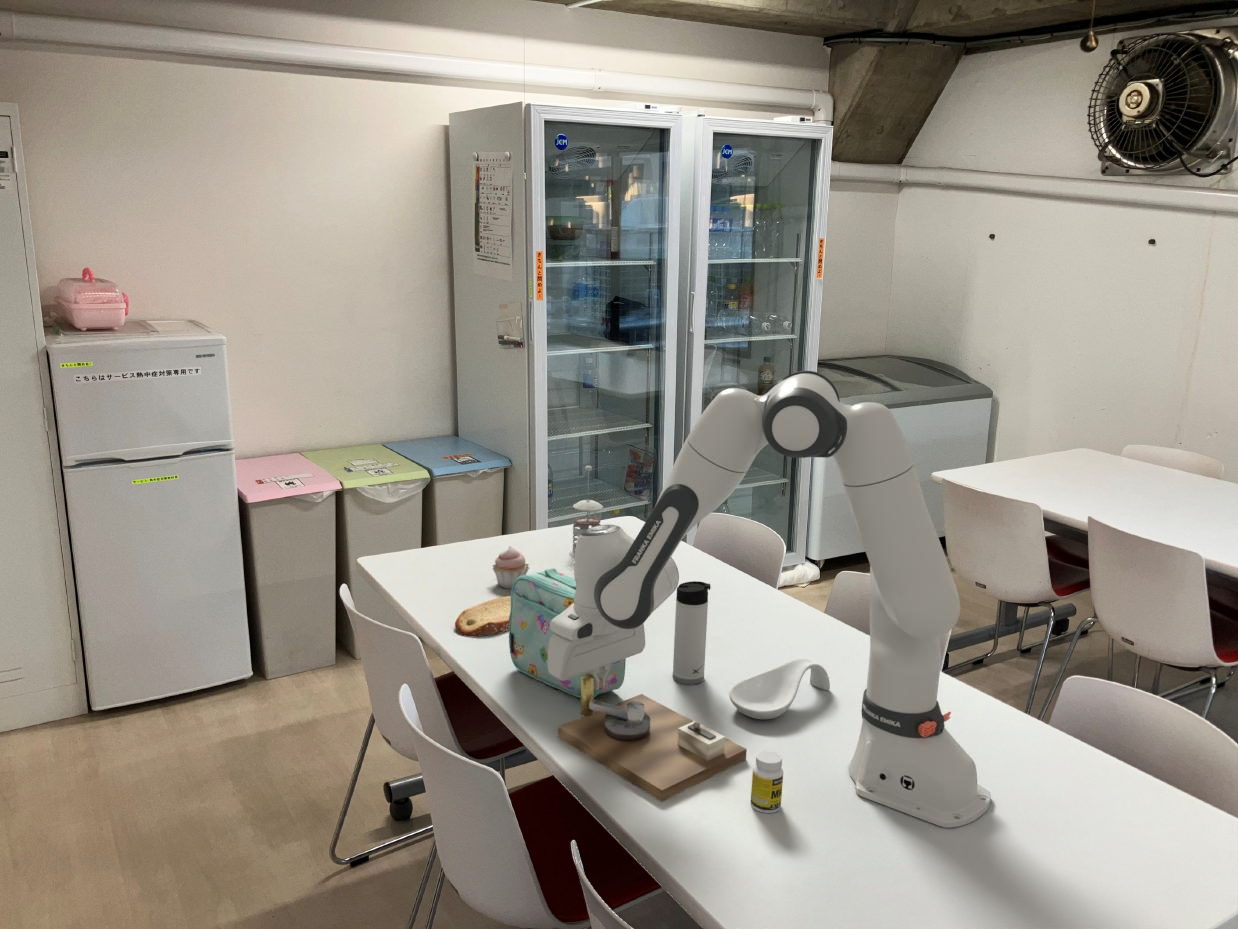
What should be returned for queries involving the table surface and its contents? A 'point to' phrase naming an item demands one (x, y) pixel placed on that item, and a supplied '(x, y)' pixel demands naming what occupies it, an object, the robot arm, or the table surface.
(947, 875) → the table surface
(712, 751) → the stand
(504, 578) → the cupcake
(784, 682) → the spoon rest
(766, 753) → the supplement bottle
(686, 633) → the travel mug
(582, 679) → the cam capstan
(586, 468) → the french press
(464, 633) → the slice of bread
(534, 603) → the lunch box
